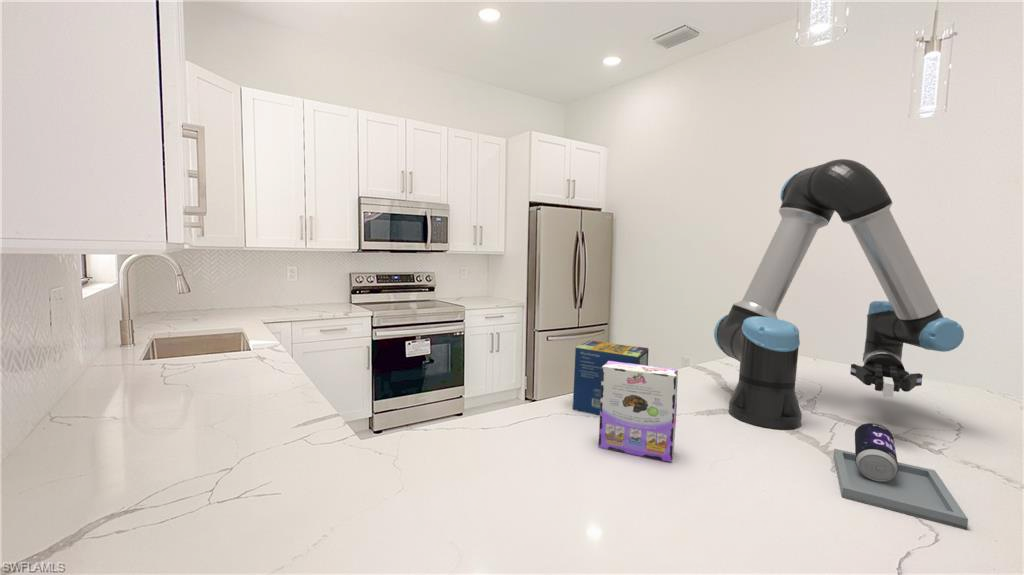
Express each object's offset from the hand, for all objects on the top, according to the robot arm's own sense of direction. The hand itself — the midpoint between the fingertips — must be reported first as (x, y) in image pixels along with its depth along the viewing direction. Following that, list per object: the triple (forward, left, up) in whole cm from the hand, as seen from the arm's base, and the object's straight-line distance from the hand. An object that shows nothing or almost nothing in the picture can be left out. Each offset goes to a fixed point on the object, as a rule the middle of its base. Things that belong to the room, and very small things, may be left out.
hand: (888, 390), depth 89 cm
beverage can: (-3, -9, -7) cm, 11 cm away
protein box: (-53, -13, -12) cm, 56 cm away
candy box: (-41, -31, -12) cm, 53 cm away
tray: (-2, -20, -12) cm, 23 cm away
